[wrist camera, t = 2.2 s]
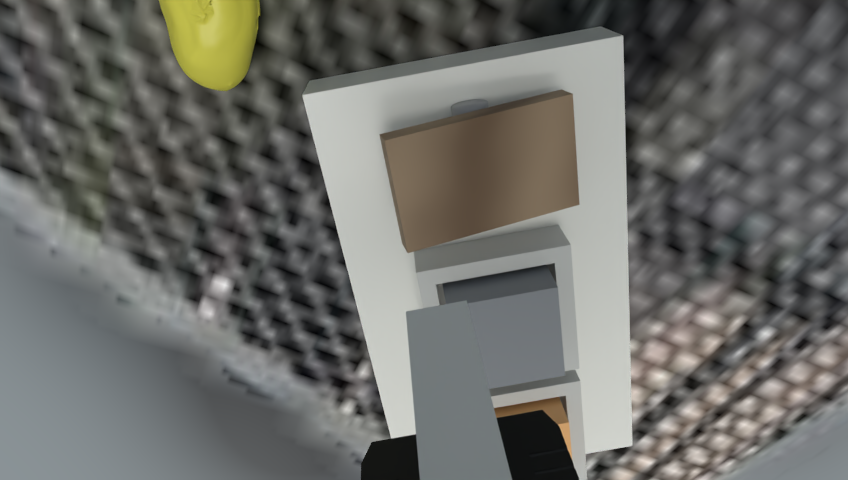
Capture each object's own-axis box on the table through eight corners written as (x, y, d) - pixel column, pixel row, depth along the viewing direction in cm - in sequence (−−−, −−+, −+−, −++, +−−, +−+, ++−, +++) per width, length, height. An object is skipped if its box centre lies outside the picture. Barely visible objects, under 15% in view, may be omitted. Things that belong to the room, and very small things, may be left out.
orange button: (556, 390, 33) (569, 422, 31) (562, 458, 35) (574, 492, 33) (464, 406, 33) (470, 439, 31) (476, 473, 35) (482, 508, 33)
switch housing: (600, 26, 29) (643, 43, 24) (615, 411, 40) (646, 474, 35) (309, 80, 29) (296, 107, 25) (401, 448, 40) (404, 516, 35)
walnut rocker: (561, 89, 26) (572, 93, 25) (568, 197, 28) (579, 204, 27) (379, 134, 25) (384, 140, 24) (402, 243, 27) (407, 253, 26)
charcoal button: (544, 261, 29) (557, 287, 27) (552, 345, 32) (565, 375, 29) (441, 280, 29) (446, 307, 27) (456, 362, 32) (462, 393, 29)
